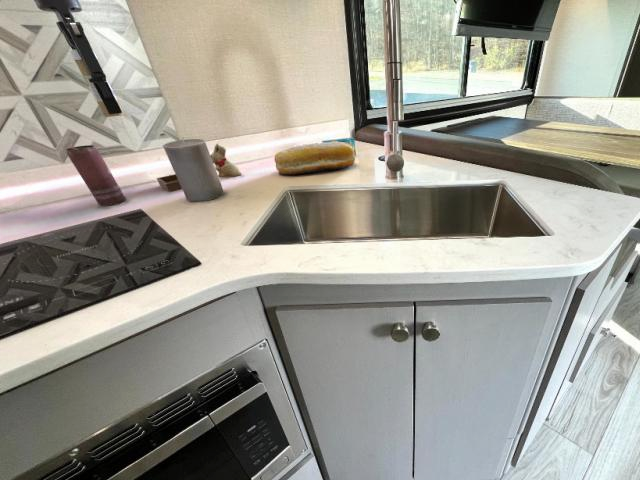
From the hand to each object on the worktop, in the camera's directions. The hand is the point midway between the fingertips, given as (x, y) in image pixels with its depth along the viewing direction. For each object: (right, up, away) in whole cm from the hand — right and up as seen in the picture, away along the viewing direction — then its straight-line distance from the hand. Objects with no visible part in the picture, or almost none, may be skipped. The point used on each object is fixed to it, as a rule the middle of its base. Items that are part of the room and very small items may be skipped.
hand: (114, 112), depth 81 cm
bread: (+46, -4, +26) cm, 53 cm away
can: (-6, -21, +6) cm, 23 cm away
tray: (+6, -12, +17) cm, 22 cm away
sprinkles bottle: (0, -1, 0) cm, 1 cm away
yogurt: (+51, +6, +39) cm, 65 cm away
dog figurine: (+17, -7, +24) cm, 30 cm away
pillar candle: (+19, -19, +8) cm, 28 cm away
